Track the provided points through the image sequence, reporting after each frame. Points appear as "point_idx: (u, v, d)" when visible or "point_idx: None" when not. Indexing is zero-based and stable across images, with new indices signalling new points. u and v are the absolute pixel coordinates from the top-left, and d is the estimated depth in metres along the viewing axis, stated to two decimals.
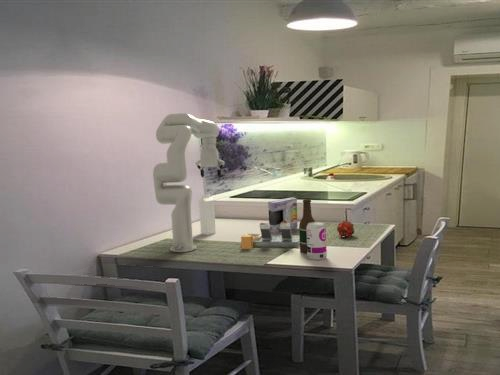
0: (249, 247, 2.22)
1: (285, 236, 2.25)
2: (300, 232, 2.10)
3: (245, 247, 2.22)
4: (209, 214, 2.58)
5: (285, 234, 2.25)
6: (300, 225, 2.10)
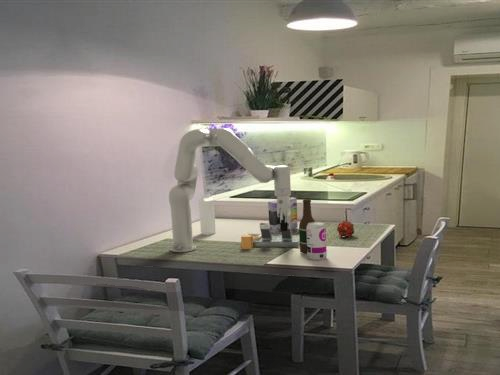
0: (249, 247, 2.22)
1: (285, 236, 2.25)
2: (300, 232, 2.10)
3: (245, 247, 2.22)
4: (209, 214, 2.58)
5: (285, 234, 2.25)
6: (300, 225, 2.10)
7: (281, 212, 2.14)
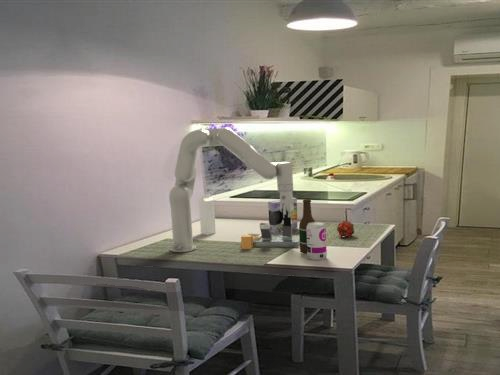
0: (249, 247, 2.22)
1: (285, 234, 2.26)
2: (300, 232, 2.10)
3: (245, 247, 2.22)
4: (209, 214, 2.58)
5: (286, 231, 2.27)
6: (300, 225, 2.10)
7: (284, 207, 2.20)
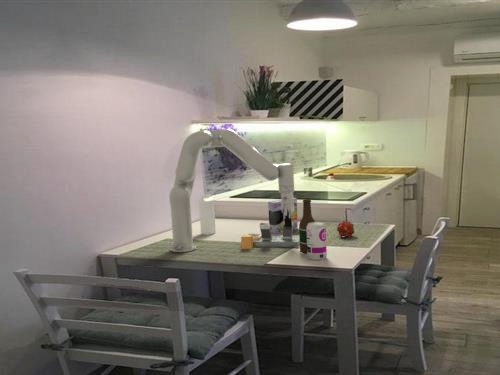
0: (249, 247, 2.22)
1: (286, 233, 2.27)
2: (300, 232, 2.10)
3: (245, 247, 2.22)
4: (209, 214, 2.58)
5: (286, 231, 2.28)
6: (300, 225, 2.10)
7: (285, 208, 2.23)
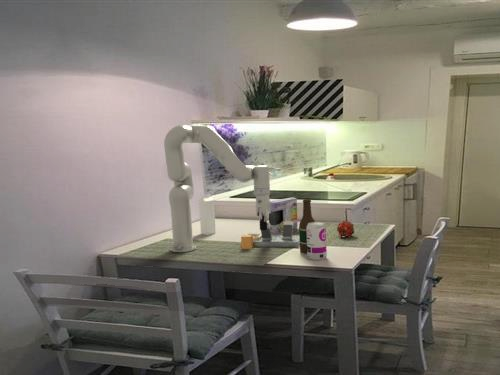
0: (249, 247, 2.22)
1: (286, 233, 2.27)
2: (300, 232, 2.10)
3: (245, 247, 2.22)
4: (209, 214, 2.58)
5: (286, 231, 2.28)
6: (300, 225, 2.10)
7: (260, 211, 2.17)
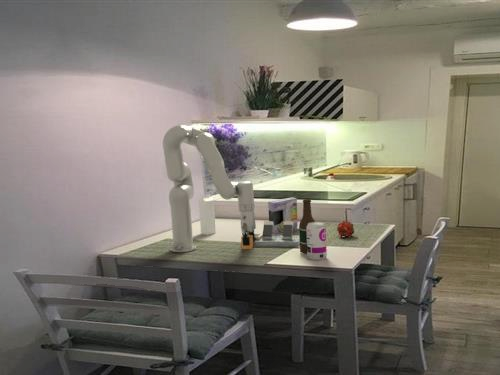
0: (249, 247, 2.22)
1: (286, 233, 2.27)
2: (300, 232, 2.10)
3: (245, 247, 2.22)
4: (209, 214, 2.58)
5: (286, 231, 2.28)
6: (300, 225, 2.10)
7: None
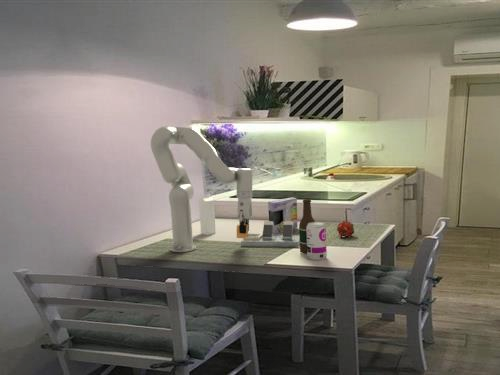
0: (244, 236, 2.22)
1: (286, 233, 2.27)
2: (300, 232, 2.10)
3: (240, 236, 2.22)
4: (209, 214, 2.58)
5: (286, 231, 2.28)
6: (300, 225, 2.10)
7: None
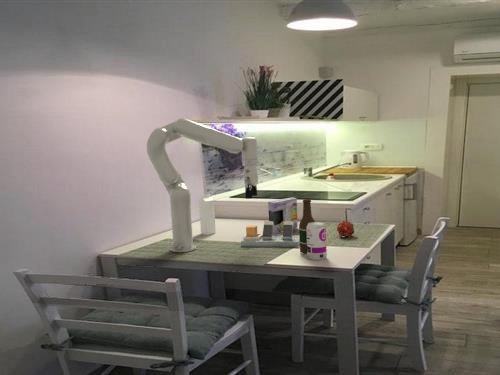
0: None
1: (286, 233, 2.27)
2: (300, 232, 2.10)
3: None
4: (209, 214, 2.58)
5: (286, 231, 2.28)
6: (300, 225, 2.10)
7: None
